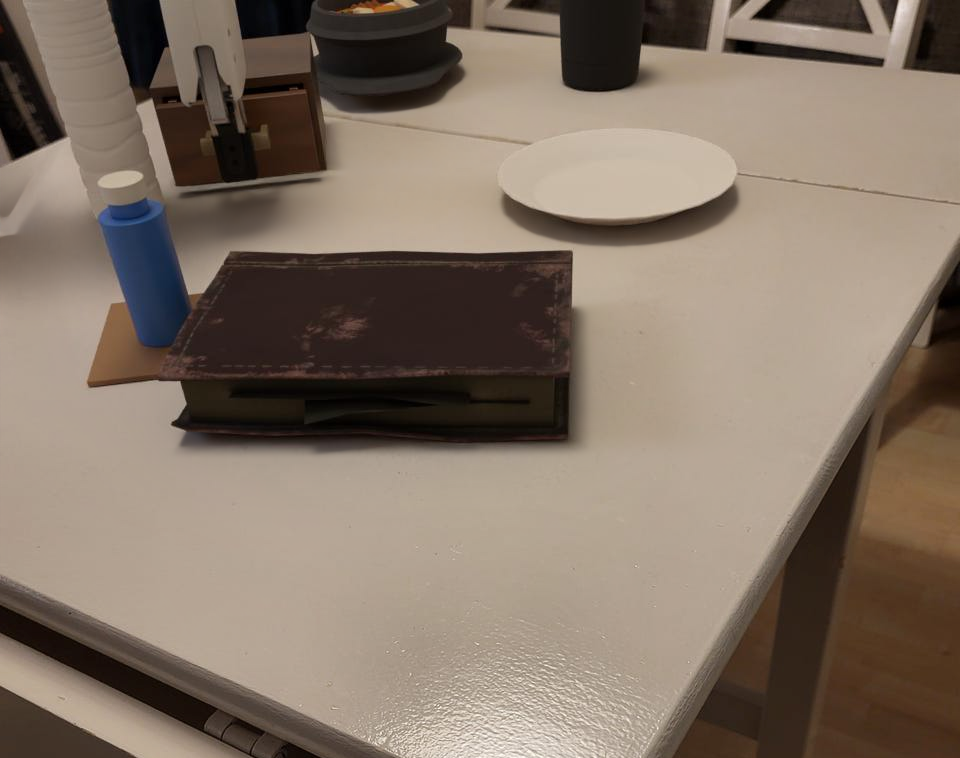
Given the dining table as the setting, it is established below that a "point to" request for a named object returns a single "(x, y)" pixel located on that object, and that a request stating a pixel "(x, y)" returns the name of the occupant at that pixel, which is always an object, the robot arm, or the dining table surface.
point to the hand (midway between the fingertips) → (241, 177)
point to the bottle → (143, 258)
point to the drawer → (274, 130)
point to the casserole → (381, 45)
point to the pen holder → (600, 42)
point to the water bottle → (92, 92)
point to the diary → (380, 346)
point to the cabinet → (263, 76)
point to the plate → (617, 175)
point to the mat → (125, 351)
